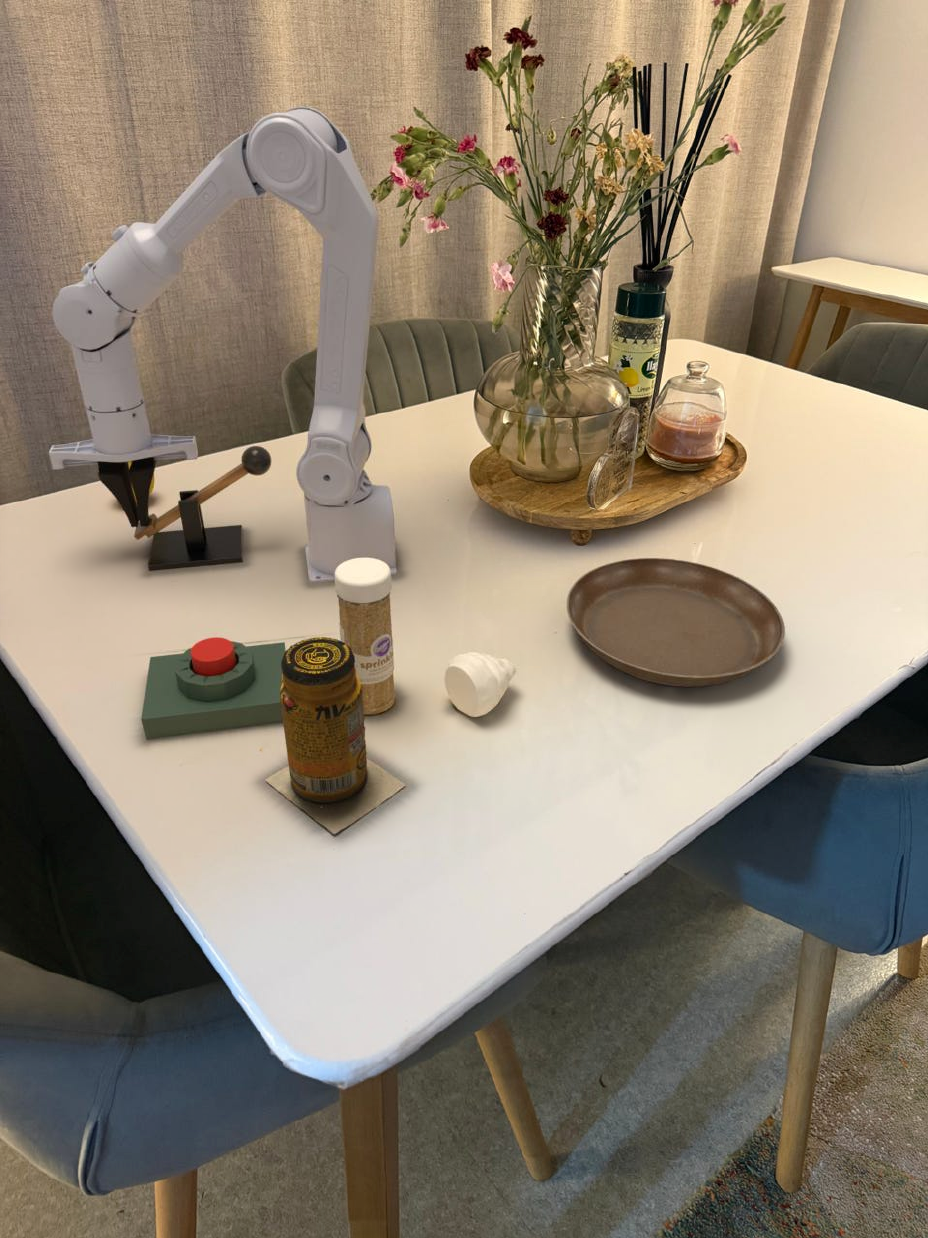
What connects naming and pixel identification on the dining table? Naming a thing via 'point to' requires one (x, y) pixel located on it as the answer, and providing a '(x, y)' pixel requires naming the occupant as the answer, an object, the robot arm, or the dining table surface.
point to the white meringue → (477, 682)
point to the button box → (213, 693)
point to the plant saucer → (675, 621)
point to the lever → (212, 488)
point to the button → (213, 656)
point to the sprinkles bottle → (368, 627)
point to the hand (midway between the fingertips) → (140, 522)
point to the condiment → (327, 737)
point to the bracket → (195, 541)
